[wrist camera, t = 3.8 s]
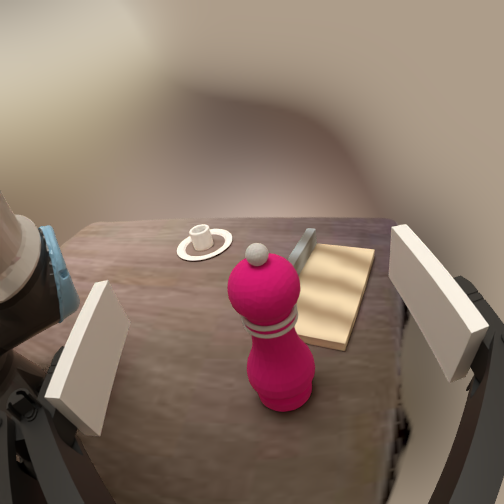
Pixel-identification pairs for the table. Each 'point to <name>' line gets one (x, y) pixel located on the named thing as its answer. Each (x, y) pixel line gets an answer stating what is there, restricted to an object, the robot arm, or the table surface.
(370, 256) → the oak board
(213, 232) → the candle holder
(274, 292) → the pepper mill
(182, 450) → the table surface
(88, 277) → the table surface
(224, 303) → the table surface
